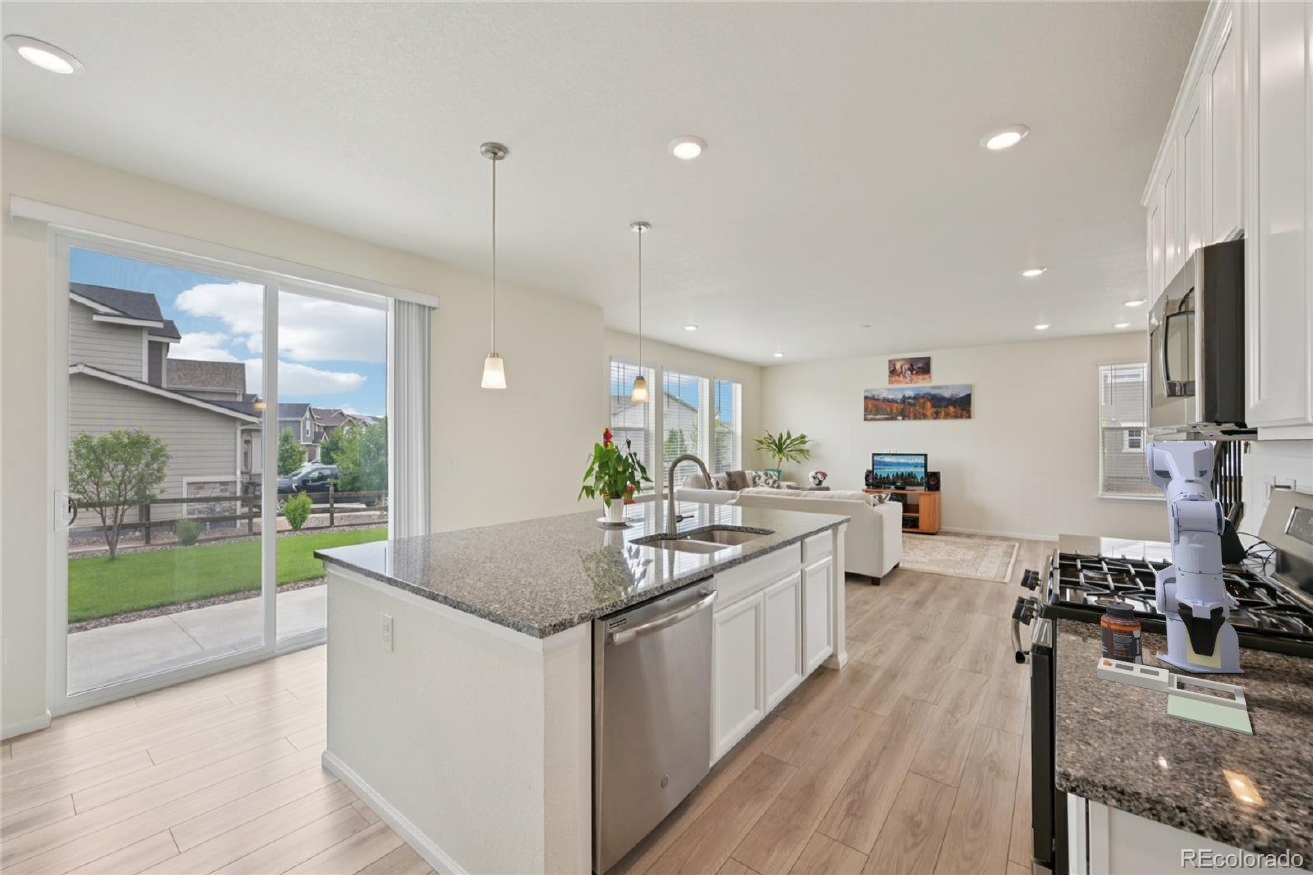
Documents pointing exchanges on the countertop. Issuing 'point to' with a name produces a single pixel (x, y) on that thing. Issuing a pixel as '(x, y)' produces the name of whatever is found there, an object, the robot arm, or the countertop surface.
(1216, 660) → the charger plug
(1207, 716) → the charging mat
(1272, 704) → the countertop surface
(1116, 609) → the supplement bottle
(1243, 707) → the white slotted frame
